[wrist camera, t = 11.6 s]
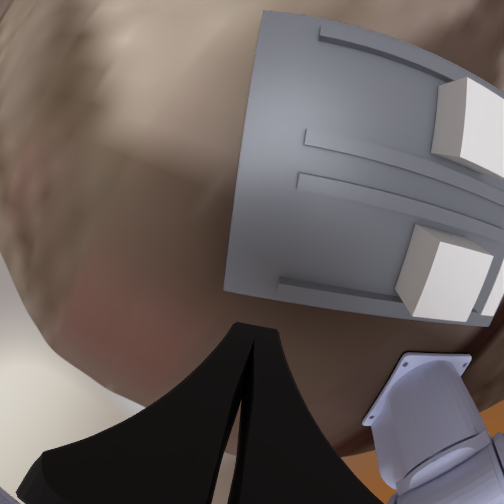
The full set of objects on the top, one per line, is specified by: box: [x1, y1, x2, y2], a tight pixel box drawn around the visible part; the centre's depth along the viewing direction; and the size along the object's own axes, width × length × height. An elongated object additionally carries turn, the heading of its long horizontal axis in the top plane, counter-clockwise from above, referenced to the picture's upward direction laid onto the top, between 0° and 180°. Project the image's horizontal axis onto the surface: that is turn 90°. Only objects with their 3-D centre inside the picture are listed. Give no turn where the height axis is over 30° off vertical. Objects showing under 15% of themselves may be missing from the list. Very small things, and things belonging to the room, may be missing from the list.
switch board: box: [223, 10, 504, 327], centre depth 14 cm, size 16×20×3 cm
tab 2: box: [395, 224, 493, 322], centre depth 13 cm, size 4×4×3 cm
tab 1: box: [431, 77, 504, 180], centre depth 10 cm, size 4×4×3 cm
